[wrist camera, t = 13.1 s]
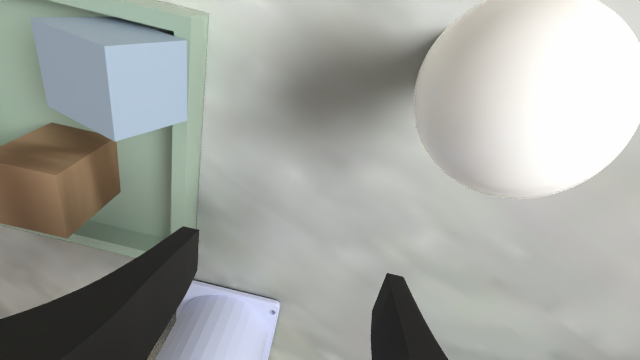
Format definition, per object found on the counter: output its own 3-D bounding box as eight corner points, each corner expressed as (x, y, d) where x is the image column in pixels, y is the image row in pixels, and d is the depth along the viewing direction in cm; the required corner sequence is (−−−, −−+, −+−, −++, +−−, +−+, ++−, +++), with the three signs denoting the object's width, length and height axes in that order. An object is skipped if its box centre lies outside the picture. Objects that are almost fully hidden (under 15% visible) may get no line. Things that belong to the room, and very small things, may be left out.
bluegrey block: (116, 16, 19) (186, 40, 17) (124, 92, 21) (187, 120, 19) (29, 17, 16) (104, 46, 14) (47, 106, 18) (114, 141, 16)
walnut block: (115, 136, 22) (55, 175, 18) (120, 191, 24) (67, 238, 20) (51, 122, 22) (-25, 157, 18) (61, 178, 24) (-5, 222, 20)
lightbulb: (371, 53, 19) (376, 131, 10) (478, -51, 17) (634, -87, 7) (447, 137, 21) (515, 274, 11) (555, 55, 18) (764, 143, 9)
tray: (194, 248, 27) (181, 269, 25) (6, 202, 27) (-22, 219, 25) (208, 13, 19) (191, 17, 17) (-59, -53, 19) (-106, -57, 17)
